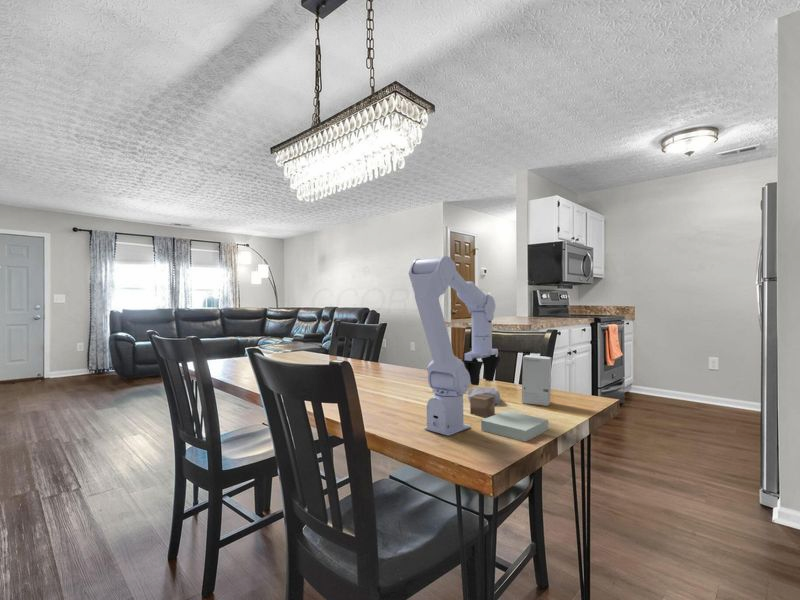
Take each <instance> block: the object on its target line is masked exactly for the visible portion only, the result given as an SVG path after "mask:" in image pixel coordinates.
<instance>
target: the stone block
mask: <svg viewBox="0 0 800 600" xmlns="http://www.w3.org/2000/svg"><path fill="white" fill-rule="evenodd" d="M466 394H467V399H468V400H469V403H470V397H471V396H475V395H478V394H483V395H489V396H494V397H495V404H499V405H500V404H501V395H500V392H499V390H496V388H495V387H483V386H480V387H479V386H478V387H474V388H471V389H468V390H467V393H466Z"/></svg>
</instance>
